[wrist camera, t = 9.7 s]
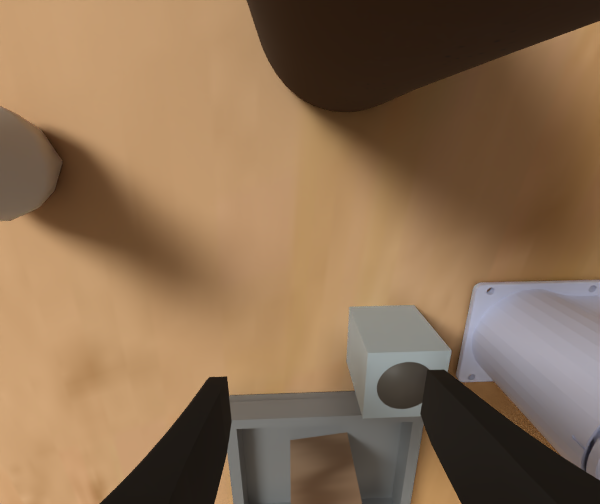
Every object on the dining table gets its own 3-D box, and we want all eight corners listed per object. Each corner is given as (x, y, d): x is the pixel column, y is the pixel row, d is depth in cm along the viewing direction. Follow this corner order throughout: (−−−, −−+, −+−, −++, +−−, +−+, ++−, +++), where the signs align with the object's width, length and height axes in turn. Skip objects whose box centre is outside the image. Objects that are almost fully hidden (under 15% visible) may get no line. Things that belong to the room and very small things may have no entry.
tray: (412, 389, 23) (425, 412, 20) (397, 495, 26) (406, 524, 24) (229, 395, 22) (223, 420, 20) (241, 502, 26) (237, 533, 24)
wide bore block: (413, 304, 20) (452, 351, 16) (406, 358, 22) (439, 416, 17) (349, 306, 20) (368, 353, 15) (346, 360, 22) (362, 419, 17)
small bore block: (347, 432, 23) (362, 505, 18) (351, 472, 24) (367, 550, 20) (290, 440, 23) (290, 515, 18) (298, 479, 24) (300, 559, 20)
